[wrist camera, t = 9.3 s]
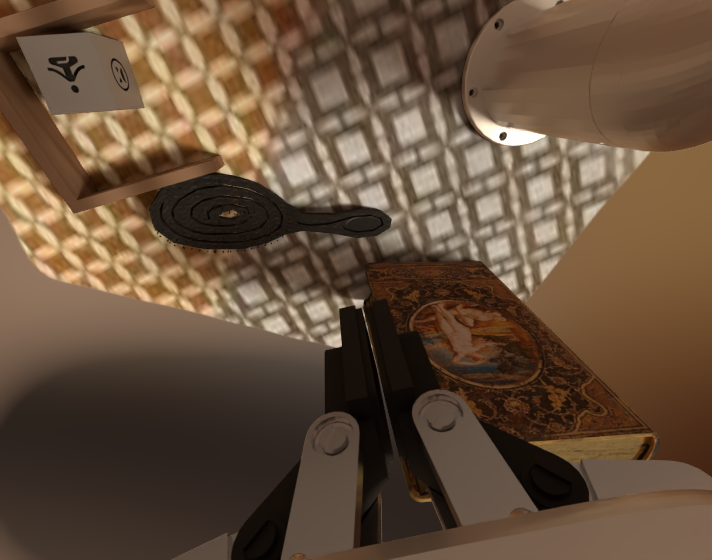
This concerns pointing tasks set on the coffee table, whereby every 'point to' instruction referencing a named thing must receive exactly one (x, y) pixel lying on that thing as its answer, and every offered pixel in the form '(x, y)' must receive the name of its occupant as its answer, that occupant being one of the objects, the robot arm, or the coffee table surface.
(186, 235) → the hairbrush
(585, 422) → the book
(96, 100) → the dice cube
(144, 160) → the coffee table surface
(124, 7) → the box
